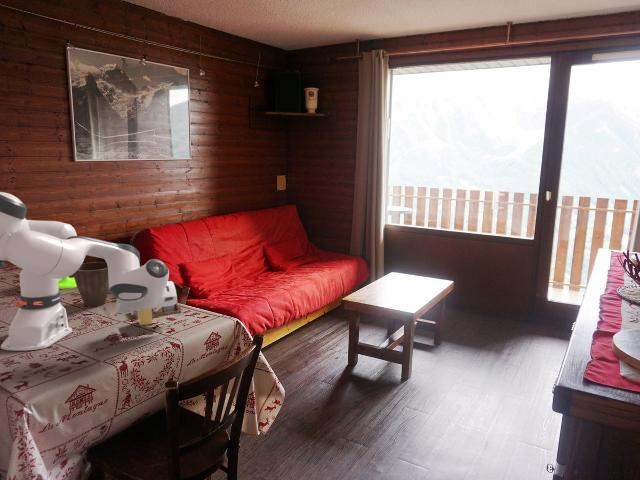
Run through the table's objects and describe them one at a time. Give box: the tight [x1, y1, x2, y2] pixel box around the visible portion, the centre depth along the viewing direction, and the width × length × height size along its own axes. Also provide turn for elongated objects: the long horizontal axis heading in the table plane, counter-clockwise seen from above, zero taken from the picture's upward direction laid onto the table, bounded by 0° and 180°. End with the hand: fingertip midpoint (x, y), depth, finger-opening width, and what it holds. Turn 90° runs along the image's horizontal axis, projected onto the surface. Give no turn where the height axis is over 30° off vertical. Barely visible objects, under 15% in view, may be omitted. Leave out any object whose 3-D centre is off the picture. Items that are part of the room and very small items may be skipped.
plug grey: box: [162, 305, 174, 312], centre depth 183 cm, size 4×4×10 cm
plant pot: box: [72, 261, 110, 308], centre depth 192 cm, size 15×15×16 cm
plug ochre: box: [137, 308, 153, 326], centre depth 170 cm, size 4×4×10 cm
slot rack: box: [133, 301, 182, 321], centre depth 182 cm, size 9×16×4 cm, turn 123°
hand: (144, 311), depth 171 cm, fingers open, 6 cm apart
